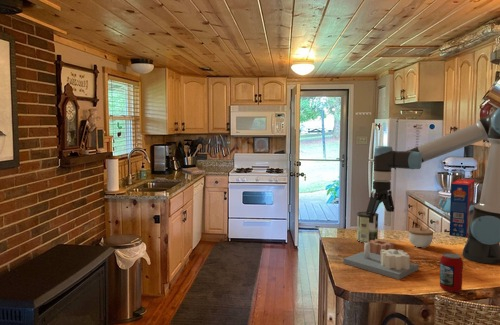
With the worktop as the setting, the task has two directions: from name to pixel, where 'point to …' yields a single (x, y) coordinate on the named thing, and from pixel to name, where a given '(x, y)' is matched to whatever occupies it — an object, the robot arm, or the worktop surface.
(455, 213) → the pasta box
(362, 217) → the coffee can
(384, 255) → the cream gear
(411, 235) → the lidded jar
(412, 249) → the worktop surface
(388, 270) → the gear board
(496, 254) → the robot arm
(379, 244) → the rust gear
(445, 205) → the teapot
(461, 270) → the beverage can
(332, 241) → the worktop surface
